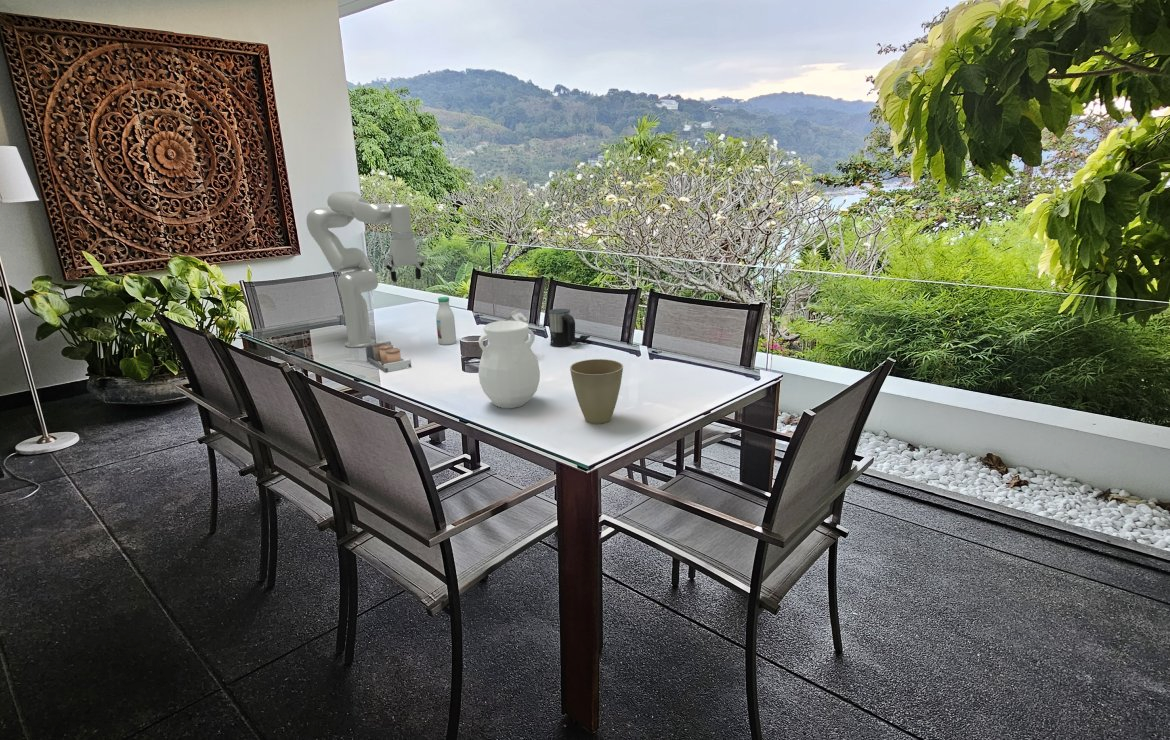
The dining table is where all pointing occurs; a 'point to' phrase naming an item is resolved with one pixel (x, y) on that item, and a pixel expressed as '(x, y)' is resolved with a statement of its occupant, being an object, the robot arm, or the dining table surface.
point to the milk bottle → (445, 322)
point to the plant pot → (597, 387)
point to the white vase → (508, 364)
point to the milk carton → (518, 319)
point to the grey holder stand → (387, 366)
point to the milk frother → (563, 328)
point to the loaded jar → (393, 355)
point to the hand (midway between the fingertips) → (406, 280)
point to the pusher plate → (376, 350)
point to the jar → (384, 353)
